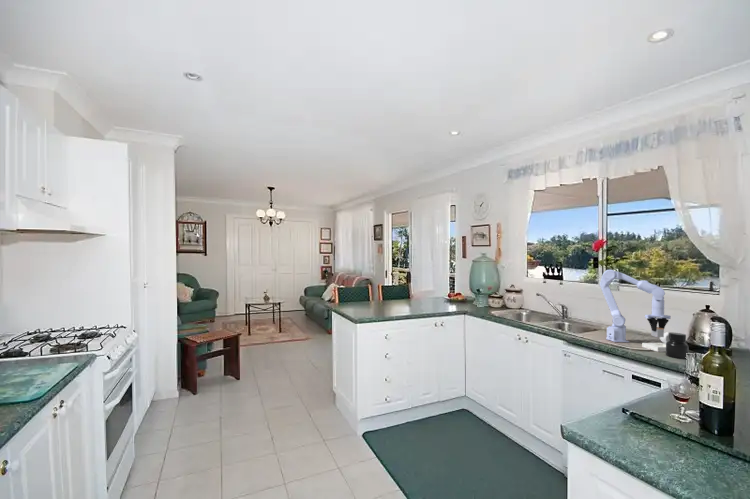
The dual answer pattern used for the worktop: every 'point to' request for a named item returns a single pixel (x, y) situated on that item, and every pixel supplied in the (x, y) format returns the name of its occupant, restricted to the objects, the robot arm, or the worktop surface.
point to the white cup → (665, 337)
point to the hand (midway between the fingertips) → (657, 331)
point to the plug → (658, 332)
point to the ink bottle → (677, 346)
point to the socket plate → (655, 346)
